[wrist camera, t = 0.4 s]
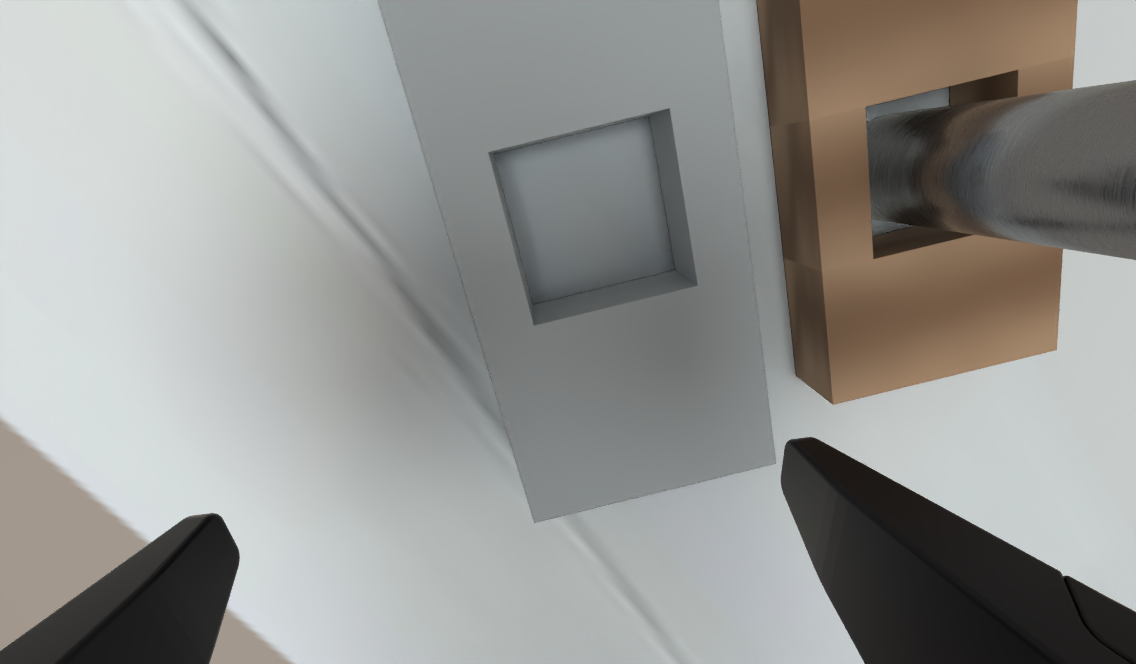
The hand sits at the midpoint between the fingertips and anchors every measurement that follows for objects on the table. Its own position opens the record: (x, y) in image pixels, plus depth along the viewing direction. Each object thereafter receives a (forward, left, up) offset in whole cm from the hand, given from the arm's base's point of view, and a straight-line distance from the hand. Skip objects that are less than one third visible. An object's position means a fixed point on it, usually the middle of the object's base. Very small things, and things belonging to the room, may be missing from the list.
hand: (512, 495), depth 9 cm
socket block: (+1, -15, -14) cm, 21 cm away
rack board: (+2, -3, -14) cm, 14 cm away
